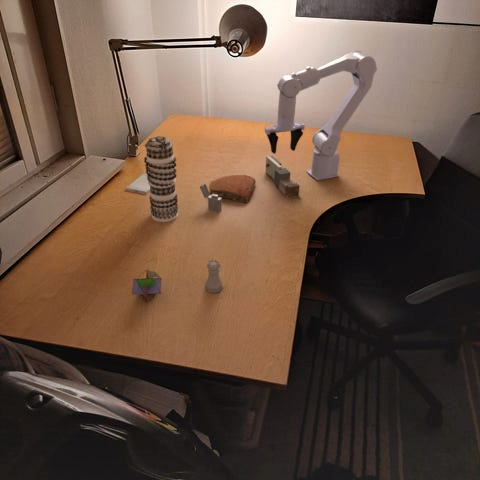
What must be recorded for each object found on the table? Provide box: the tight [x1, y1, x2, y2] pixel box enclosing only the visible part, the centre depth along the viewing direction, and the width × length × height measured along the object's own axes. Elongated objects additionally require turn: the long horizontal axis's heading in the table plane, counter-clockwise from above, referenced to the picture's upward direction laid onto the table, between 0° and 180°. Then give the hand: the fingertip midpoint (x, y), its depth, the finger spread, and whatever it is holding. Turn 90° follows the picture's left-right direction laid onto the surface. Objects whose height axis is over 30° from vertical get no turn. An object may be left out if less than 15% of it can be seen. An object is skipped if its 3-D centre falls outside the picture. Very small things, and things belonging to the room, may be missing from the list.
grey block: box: [273, 167, 291, 188], centre depth 158 cm, size 4×4×5 cm
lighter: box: [199, 183, 222, 213], centre depth 144 cm, size 7×2×8 cm, turn 64°
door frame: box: [269, 155, 300, 199], centre depth 160 cm, size 4×22×6 cm, turn 23°
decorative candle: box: [143, 136, 179, 223], centre depth 135 cm, size 9×9×25 cm
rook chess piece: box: [204, 259, 224, 294], centre depth 110 cm, size 4×4×8 cm
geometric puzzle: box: [131, 269, 162, 303], centre depth 108 cm, size 7×7×8 cm
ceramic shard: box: [208, 174, 257, 204], centre depth 155 cm, size 15×6×15 cm
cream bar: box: [265, 155, 283, 180], centre depth 163 cm, size 2×10×6 cm, turn 23°
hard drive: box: [125, 172, 150, 195], centre depth 159 cm, size 2×8×12 cm
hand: (283, 151), depth 160 cm, fingers open, 7 cm apart
